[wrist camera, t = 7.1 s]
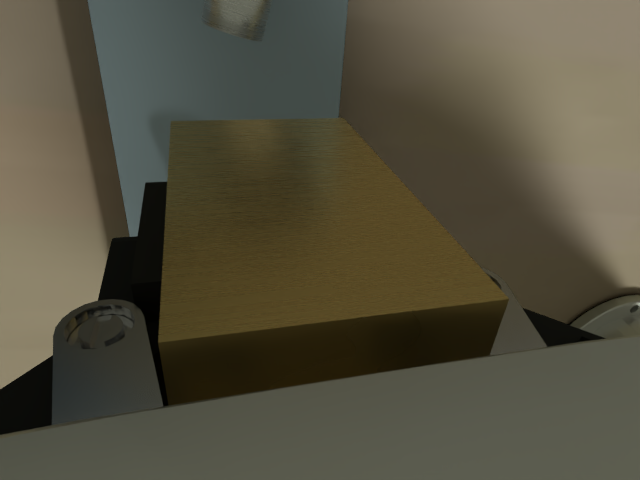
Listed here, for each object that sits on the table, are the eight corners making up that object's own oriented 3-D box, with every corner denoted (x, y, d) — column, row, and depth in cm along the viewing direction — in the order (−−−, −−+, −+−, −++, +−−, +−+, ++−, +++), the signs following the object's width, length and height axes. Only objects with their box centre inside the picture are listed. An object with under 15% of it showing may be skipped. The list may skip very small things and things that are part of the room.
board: (317, 269, 31) (324, 287, 30) (144, 285, 29) (142, 305, 27) (351, -215, 19) (367, -230, 17) (51, -263, 16) (36, -286, 15)
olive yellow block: (170, 121, 10) (157, 342, 5) (343, 118, 11) (508, 299, 6) (190, 297, 13) (197, 578, 7) (328, 283, 14) (431, 521, 8)
